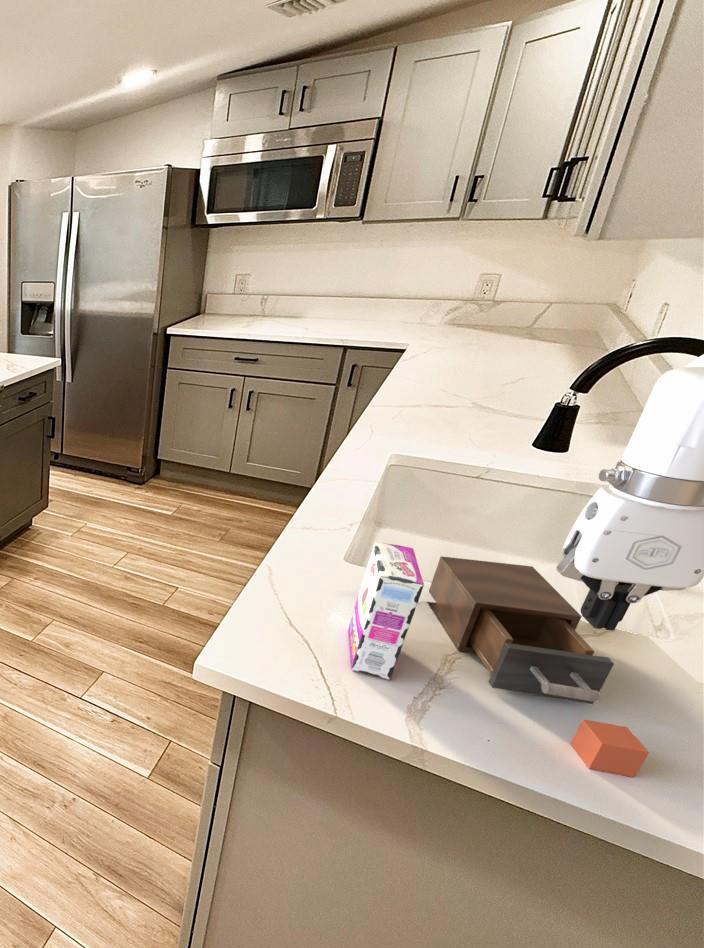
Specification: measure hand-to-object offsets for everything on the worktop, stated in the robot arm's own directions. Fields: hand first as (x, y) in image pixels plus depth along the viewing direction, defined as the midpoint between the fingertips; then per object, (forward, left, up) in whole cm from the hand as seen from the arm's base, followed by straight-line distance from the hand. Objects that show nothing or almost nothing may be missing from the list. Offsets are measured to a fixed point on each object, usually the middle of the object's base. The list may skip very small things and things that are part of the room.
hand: (596, 622), depth 73 cm
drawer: (0, -7, -14) cm, 16 cm away
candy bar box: (+18, -7, -15) cm, 25 cm away
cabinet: (0, -19, -15) cm, 24 cm away
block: (-2, +7, -15) cm, 16 cm away
